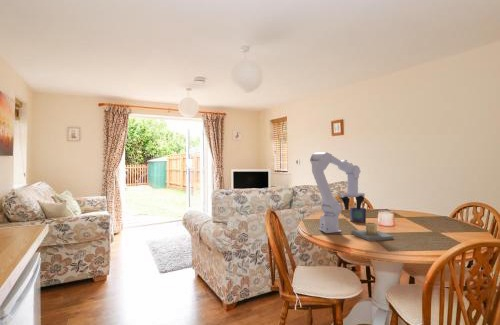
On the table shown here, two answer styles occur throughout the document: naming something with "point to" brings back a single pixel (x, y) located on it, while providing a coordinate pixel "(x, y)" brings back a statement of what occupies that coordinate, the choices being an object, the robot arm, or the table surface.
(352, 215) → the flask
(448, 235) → the table surface
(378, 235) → the post block
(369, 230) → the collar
